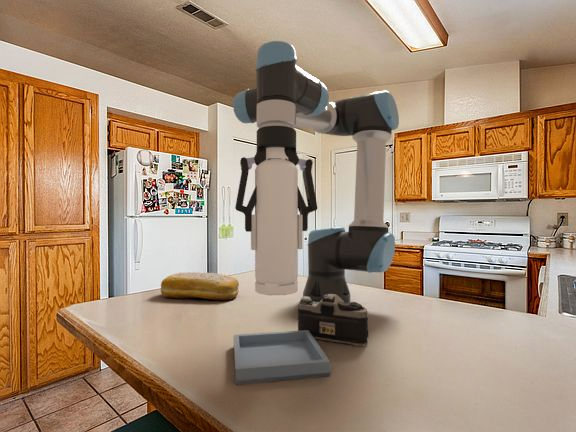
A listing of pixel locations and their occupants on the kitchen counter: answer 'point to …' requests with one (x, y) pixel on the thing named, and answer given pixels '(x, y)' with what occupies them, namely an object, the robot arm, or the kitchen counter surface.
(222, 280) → the bread
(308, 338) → the tray
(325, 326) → the camera
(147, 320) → the kitchen counter surface
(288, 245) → the bottle
